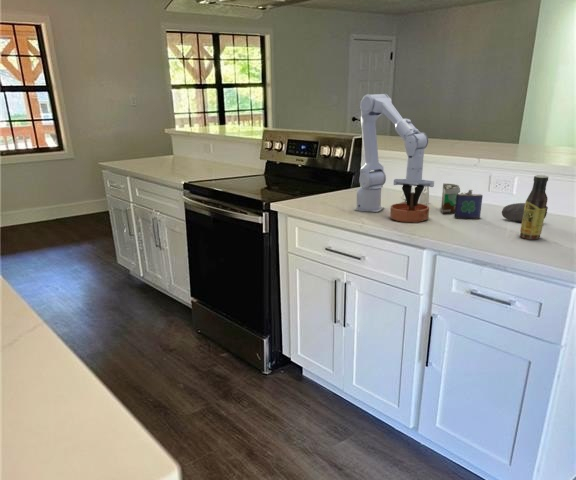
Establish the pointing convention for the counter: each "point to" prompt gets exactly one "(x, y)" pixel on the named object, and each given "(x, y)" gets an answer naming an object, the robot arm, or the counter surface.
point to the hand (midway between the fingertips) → (412, 205)
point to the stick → (411, 201)
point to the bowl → (409, 213)
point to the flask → (468, 205)
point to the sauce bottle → (535, 209)
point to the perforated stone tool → (515, 212)
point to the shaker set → (423, 197)
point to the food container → (449, 198)
